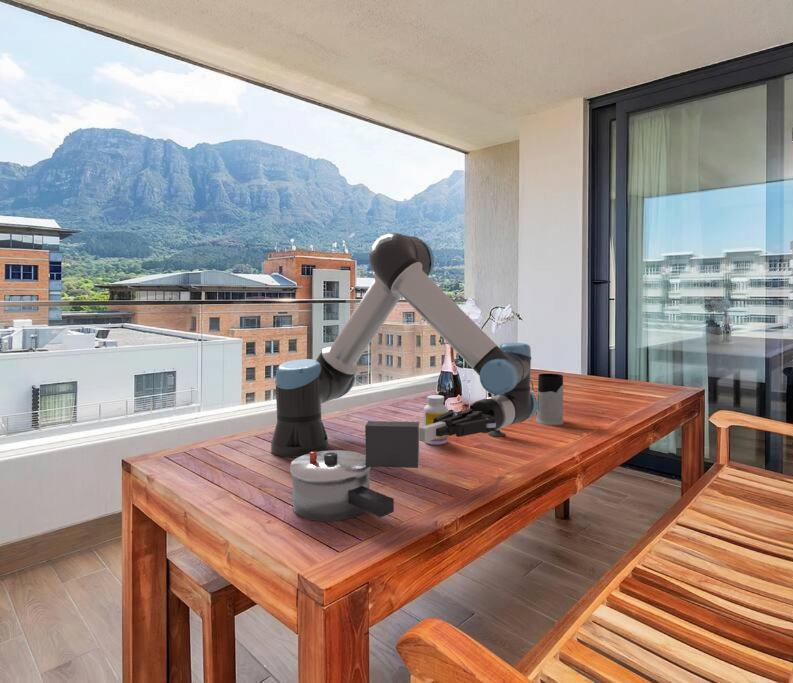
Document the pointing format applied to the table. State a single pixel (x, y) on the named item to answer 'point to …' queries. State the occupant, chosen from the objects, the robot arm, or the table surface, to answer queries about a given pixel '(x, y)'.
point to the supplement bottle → (435, 415)
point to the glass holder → (550, 399)
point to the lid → (383, 449)
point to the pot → (338, 500)
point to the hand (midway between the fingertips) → (422, 434)
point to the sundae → (497, 432)
